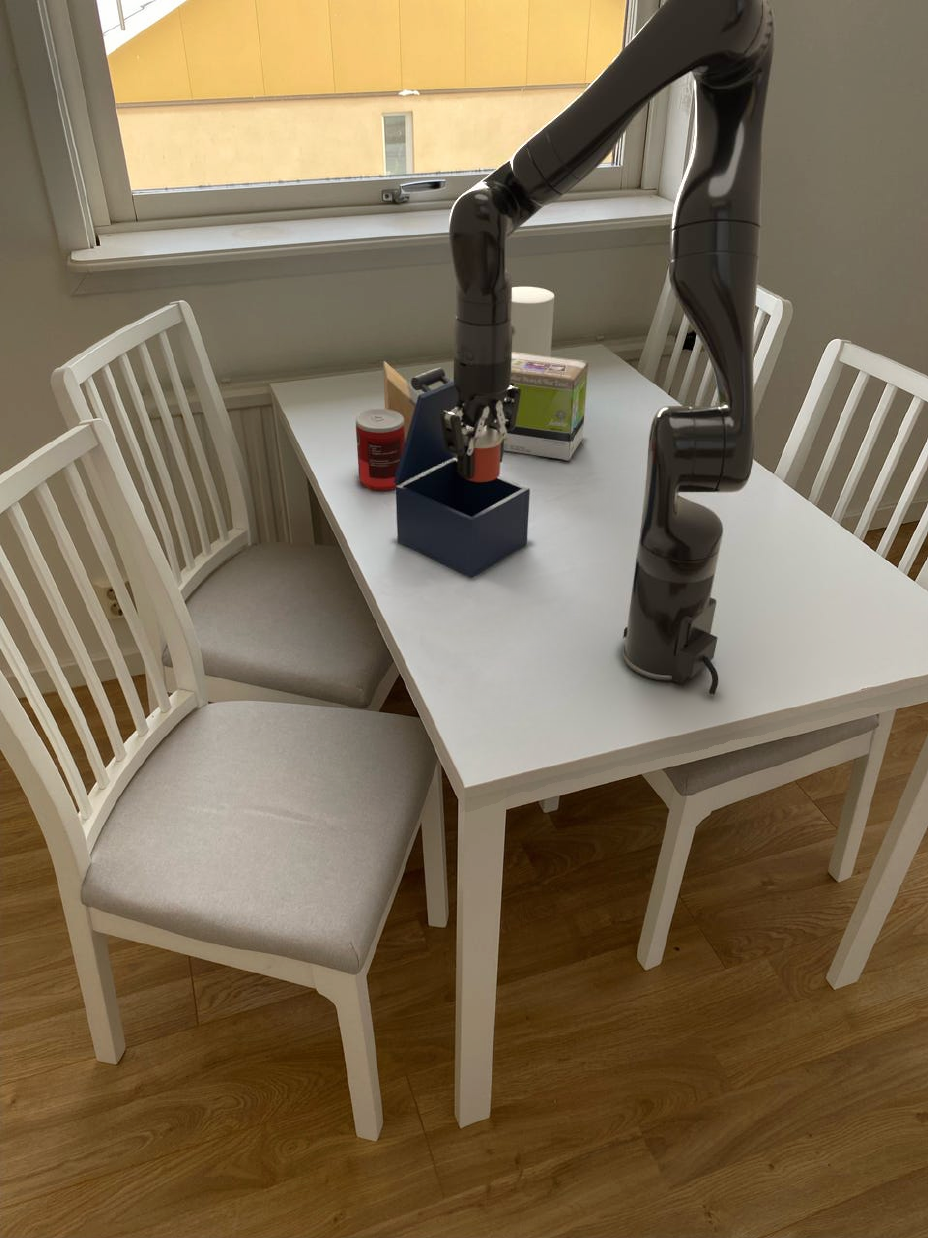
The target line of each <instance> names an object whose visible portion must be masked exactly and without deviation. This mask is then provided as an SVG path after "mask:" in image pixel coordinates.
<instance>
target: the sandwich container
mask: <svg viewBox="0 0 928 1238" xmlns="http://www.w3.org/2000/svg"><path fill="white" fill-rule="evenodd" d="M382 369H383V370H382V371H383V394H384V396H383V397H384V409H387V410H392V411H396V412H398V413H400V414H401V415H402V416H403V418H404V427H405V441H406V437H407V434H408V430H409V427H410V424H411V420H412V417H413V413H414V410H415V406H416V403H417V399H418V396H419V395H420V394H421V393H420V392H419V390H415V389H414V388H413V387H412V385H411V383H409V382H408V381H407V380H406V379H405V378H404V376H402V375H401V374H399V372H397V371H396V370H395V369H394V368H393V367H392V366H391V365H390V364H389V363H388V362H386V361H385V360H383V361H382ZM454 458H456V459H457V455H456V457H454ZM452 459H453V458H452Z"/></svg>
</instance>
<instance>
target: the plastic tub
mask: <svg viewBox="0 0 928 1238" xmlns="http://www.w3.org/2000/svg"><path fill="white" fill-rule="evenodd" d="M468 429H469V430H471V431H473V430H474V428H473V427H470V428H468ZM502 440H503V436H502V434H501V433H499V432H498V431H497V430H495V429H491V428H490V429H489V428H487V426H485V427H483V430H482V433H481V437H480V438H479V439H477V440H476V443H475V447H474V450H473V454H474V476H473V477H472V478H470V479H467V480H470V481H474V482H487V481H491V480H494V479H496V478H497V477H498V476H500V474H501V473H500V472H501V463H500V445H501V442H502ZM463 442H464V444H466V445H467V442H468V436H465V440H464V441H463ZM465 479H466V478H465Z"/></svg>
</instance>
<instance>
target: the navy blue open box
mask: <svg viewBox="0 0 928 1238" xmlns="http://www.w3.org/2000/svg"><path fill="white" fill-rule="evenodd" d="M530 491H531V488H530V487H527V486H525V485H522V484H520V483H518V482H515V481H513V480H510V479H507V478H505V477H503V476H500V475H499V476H498V477H497V478H496V479H494V480H491V481H487V482H474V481H470V480H467V479H465V478H464V477H462V476H460V475H459V473H458V472H457V459H456V458H453V459H450V460H447V461H445V462H443V463H441V464H439V465H437V466H435V467H433V468H431V469H429V470H427V471H425V472H423V473H421V474H419V475H417V476H415V477H413V478H411V479H409V480H406V481H404V483H402V484H400V485H398V486H396V489H395V506H396V534H397V536H396V537H397V543H399V544H400V545H403V546H405V547H407V548H408V549H411V550H413V551H415V552H417V553H419V554H421V555H424V556H425V557H427V558H429V559H431V560H433V561H435V562H437V563H439V564H442V565H444V566H446V567H447V568H449V569H452V570H453V571H455V572H458V573H460V574H462V575H463V576H466V577H467V578H470V579H472V578H474V577H476V576H477V575H479V574H480V573H482V572H484V571H485V570H487V569H488V568H491V567H492V566H493V565H495V564H497V563H498V562H500V561H501V560H504V559H505V558H506V557H508V556H510V555H511V554H513V553H514V552H517V551H518V550H520V549H521V548H522V547H524V546H526V545H527V544H528V533H529V531H528V530H529V512H530V493H531V492H530Z"/></svg>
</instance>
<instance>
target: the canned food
mask: <svg viewBox="0 0 928 1238" xmlns="http://www.w3.org/2000/svg"><path fill="white" fill-rule="evenodd" d="M355 433H356V434H355V435H356V437H355V438H356V449H357V467H358V478H359V480H360V483H361V484H362V485H363V486H364V487H365V488H367V489H369V490H373V491H377V492H378V491H380V492H383V491H387V492H388V491H392V490H396V486H398V485H400V484H402V483H404V482H405V481H404V482H402V483H400V484H398V485H397V484H396V483H394V479H395V475H396V472H397V468H398V465H399V462H400V458H401V455H402V451H403V448H404V444H405V427H404V418H403V416H402V415H401V414H400V413H398V412H396V411H392V410H387V409H385V408H374V409H368V410H365V411H362V412H360V413H359V414H357V415H356V418H355Z"/></svg>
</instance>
